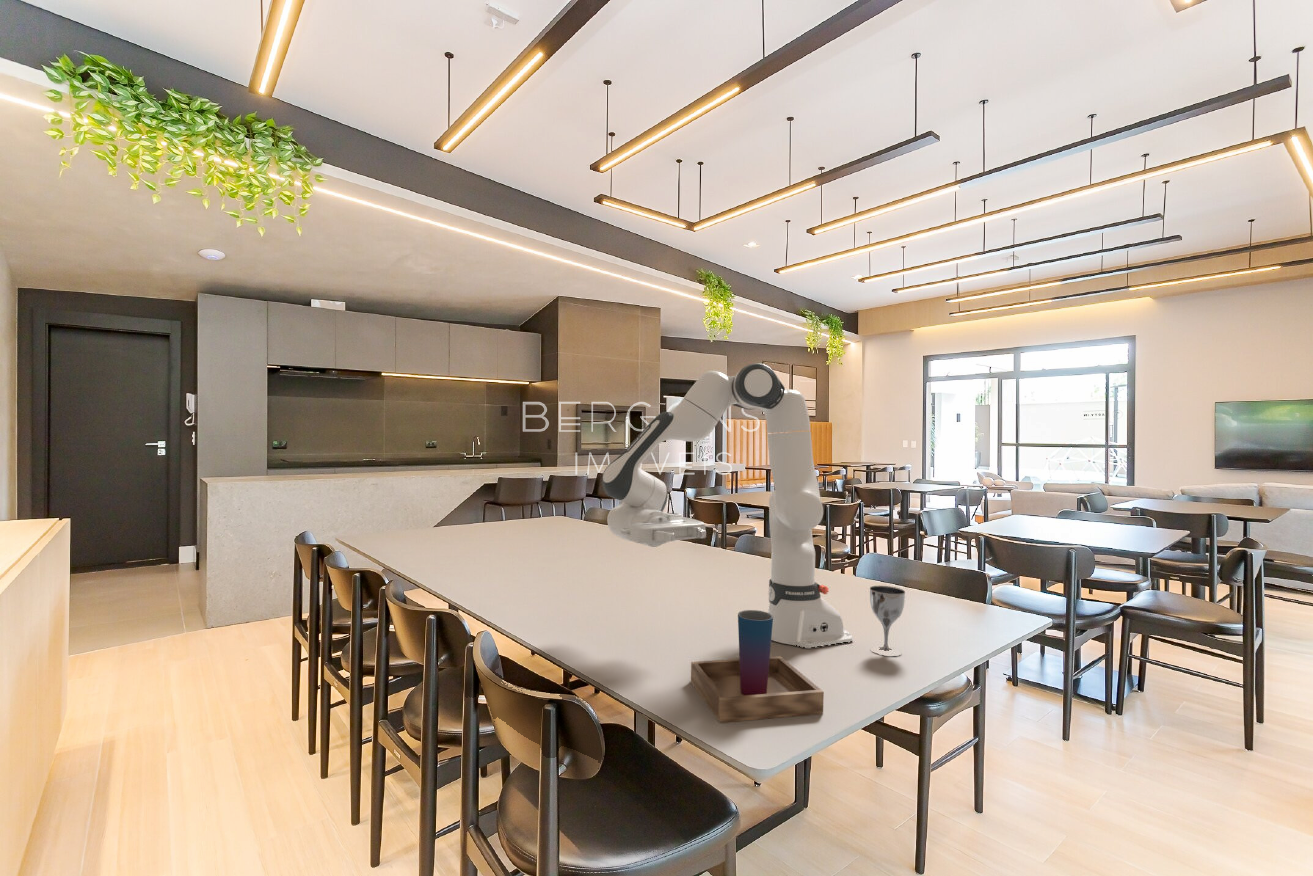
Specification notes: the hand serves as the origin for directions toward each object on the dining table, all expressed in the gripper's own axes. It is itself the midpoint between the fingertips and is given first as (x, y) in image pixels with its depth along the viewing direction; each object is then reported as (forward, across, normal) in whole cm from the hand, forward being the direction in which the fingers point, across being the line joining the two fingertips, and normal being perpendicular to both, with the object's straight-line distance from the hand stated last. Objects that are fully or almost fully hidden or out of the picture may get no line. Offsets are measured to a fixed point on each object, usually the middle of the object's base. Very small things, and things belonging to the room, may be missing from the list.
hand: (688, 536), depth 132 cm
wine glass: (+23, +44, +28) cm, 57 cm away
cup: (+23, -2, +27) cm, 36 cm away
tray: (+22, -2, +28) cm, 36 cm away
